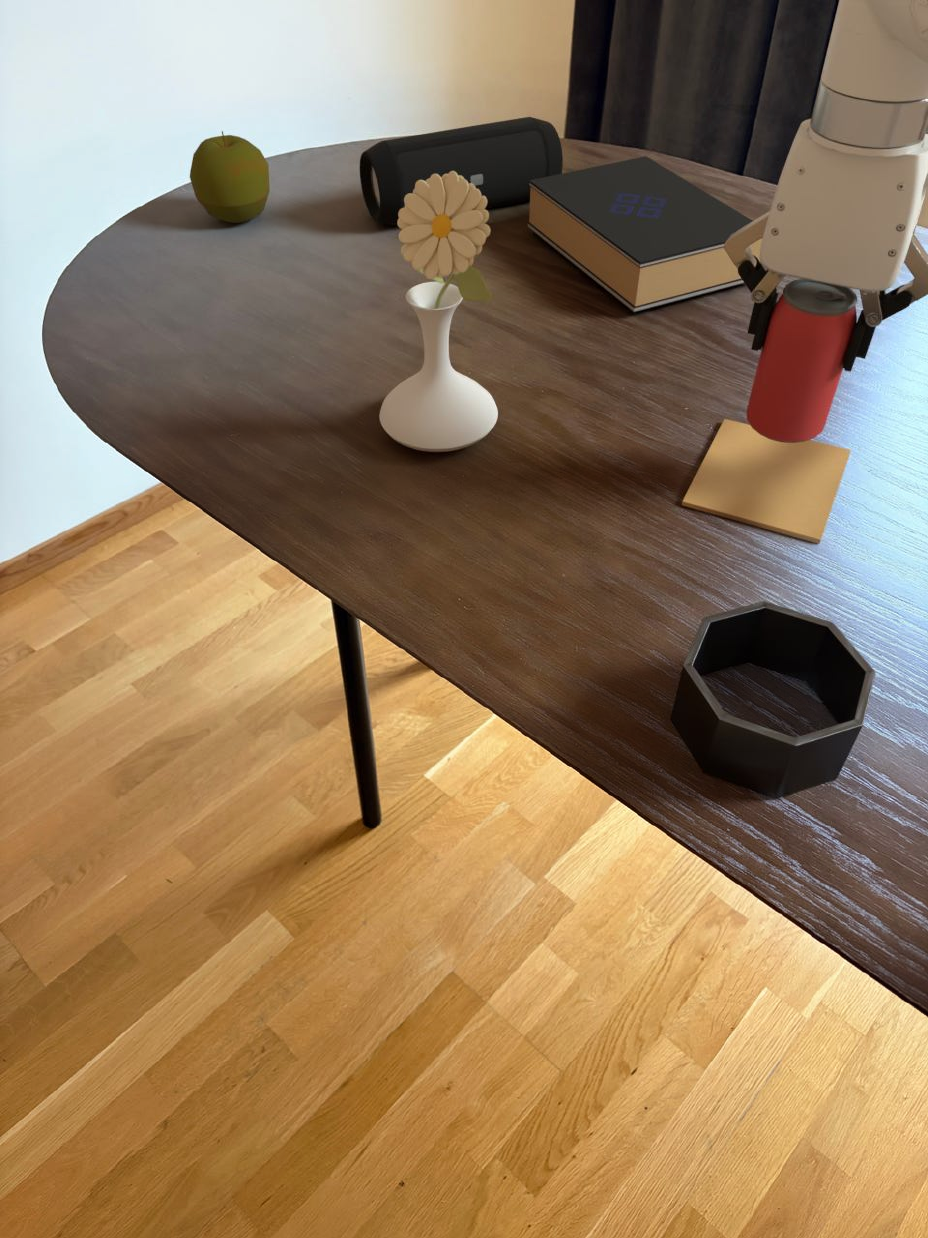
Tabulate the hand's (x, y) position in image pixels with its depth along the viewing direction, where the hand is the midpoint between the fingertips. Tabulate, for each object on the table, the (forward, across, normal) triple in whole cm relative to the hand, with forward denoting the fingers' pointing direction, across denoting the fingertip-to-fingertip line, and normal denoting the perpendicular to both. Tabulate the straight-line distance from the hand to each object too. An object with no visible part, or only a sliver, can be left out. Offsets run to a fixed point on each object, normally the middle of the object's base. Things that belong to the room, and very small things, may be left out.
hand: (804, 350), depth 76 cm
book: (+13, +25, -37) cm, 47 cm away
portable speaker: (+13, +51, -41) cm, 67 cm away
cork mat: (+13, 0, 0) cm, 13 cm away
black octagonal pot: (+13, -6, +28) cm, 31 cm away
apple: (+13, +77, -26) cm, 82 cm away
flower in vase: (+13, +30, +6) cm, 33 cm away
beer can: (+7, 0, 0) cm, 7 cm away
